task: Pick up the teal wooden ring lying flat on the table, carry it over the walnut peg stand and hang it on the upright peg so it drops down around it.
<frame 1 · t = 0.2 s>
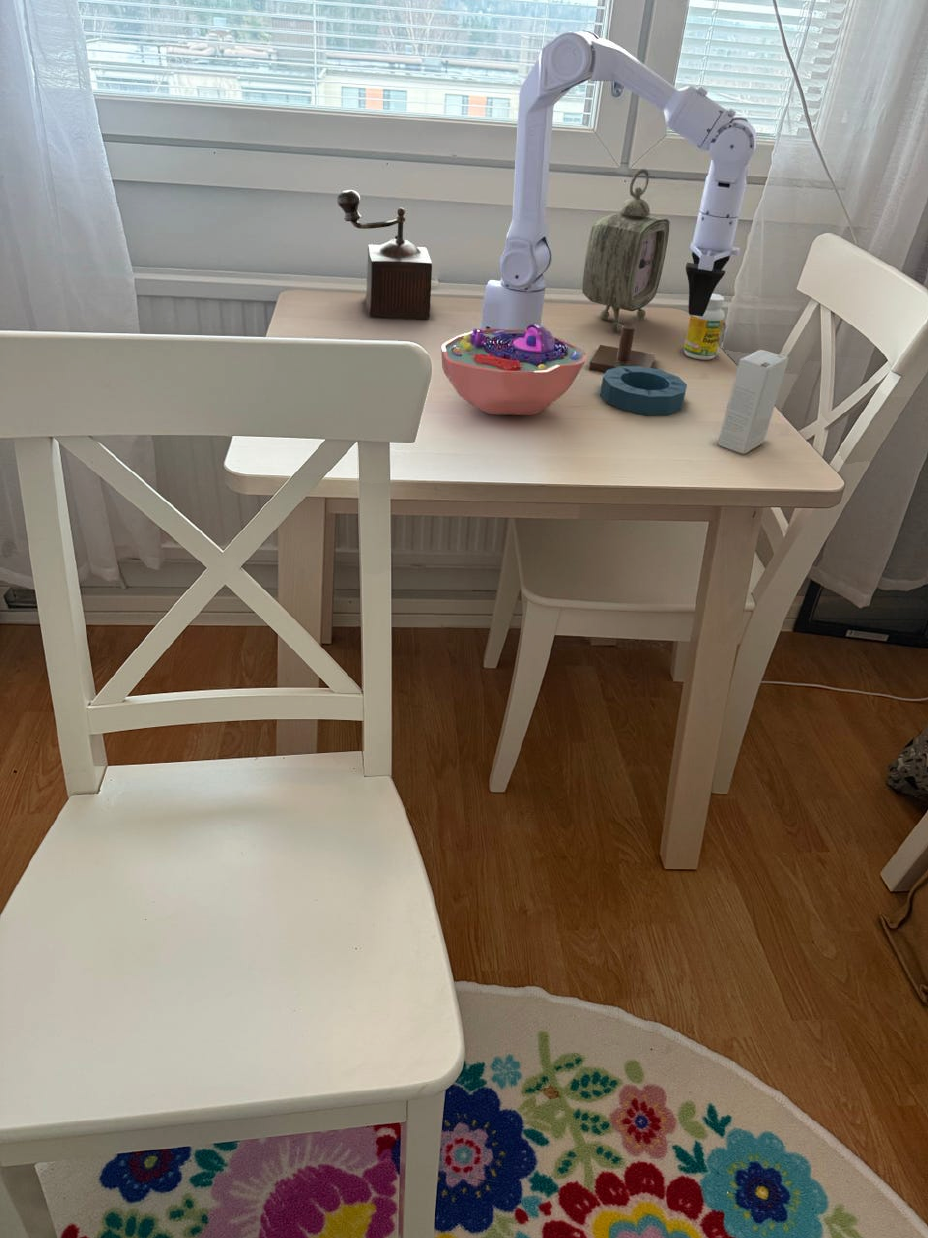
hand: (698, 308, 147), 10 cm above the table, tool pointing down, fingers open, 7 cm apart
ring: (641, 399, 141), on the table
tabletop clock: (613, 322, 172), on the table
cosmetic box: (740, 446, 131), on the table
manual coffee grinder: (382, 309, 167), on the table
cell model: (506, 409, 134), on the table
peg stand: (621, 365, 153), on the table
supplement bottle: (698, 355, 160), on the table
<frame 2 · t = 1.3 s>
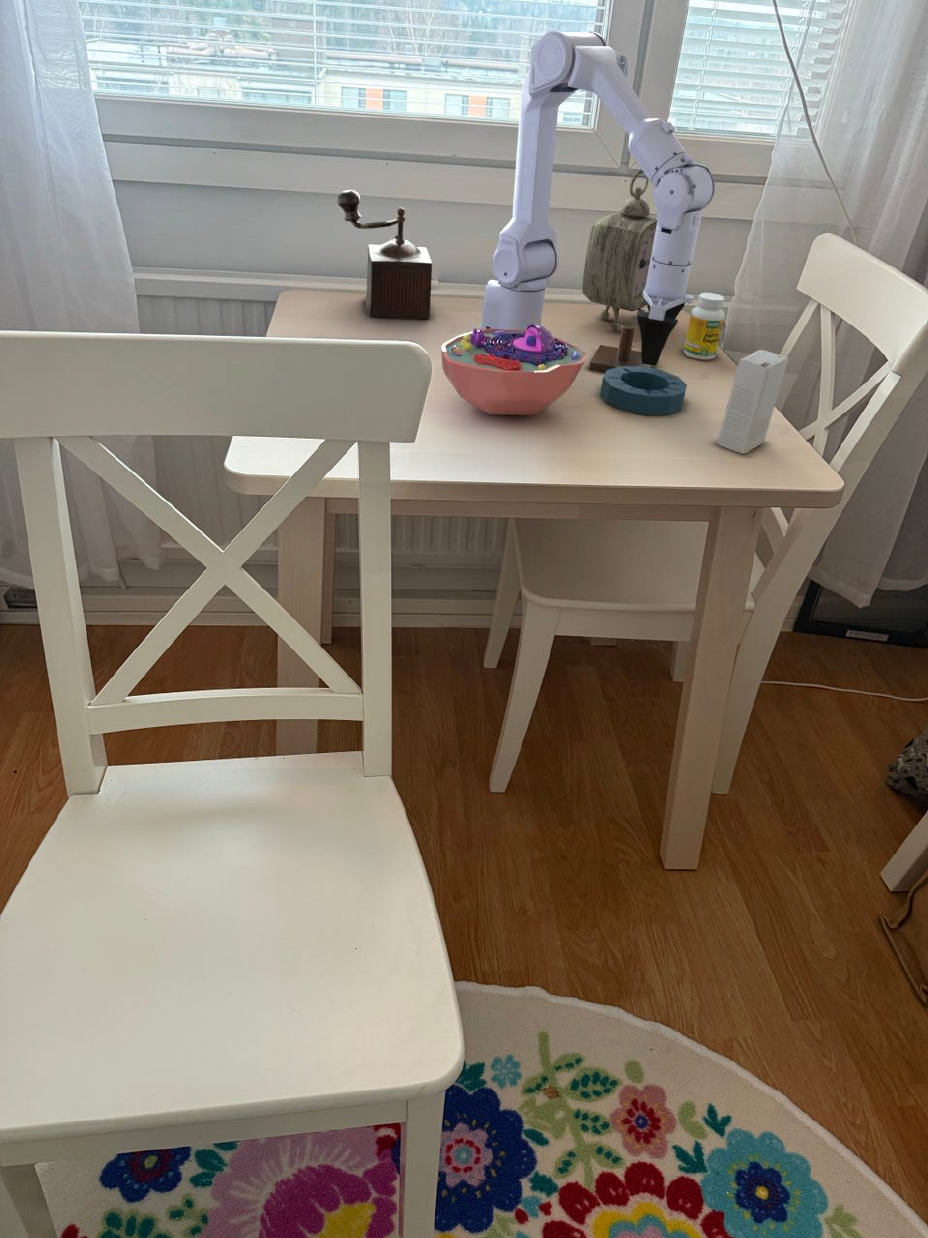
hand: (652, 355, 142), 5 cm above the table, tool pointing down, fingers open, 7 cm apart
nothing on the table moved.
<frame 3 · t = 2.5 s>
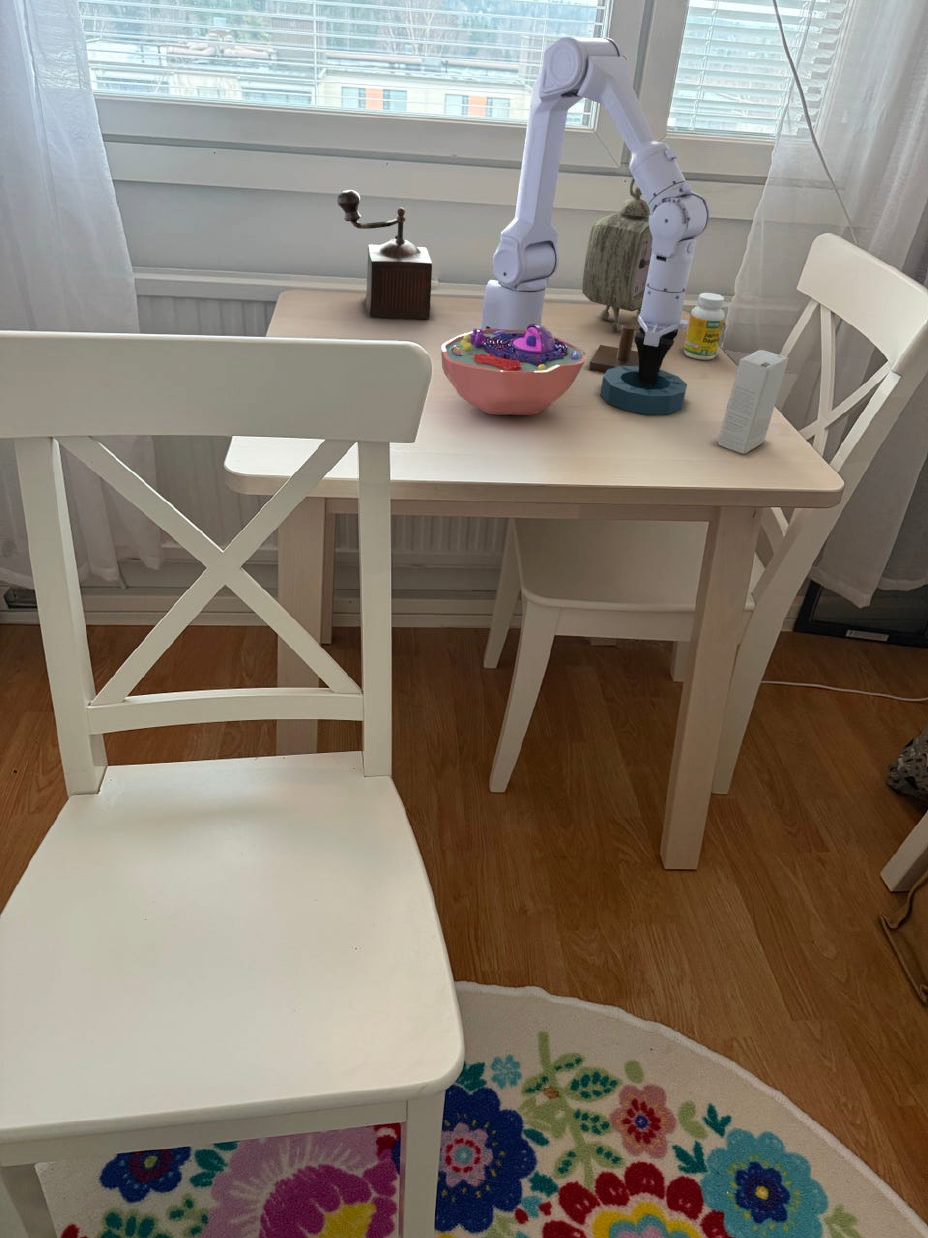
hand: (647, 379, 144), 1 cm above the table, tool pointing down, fingers closed on ring, 2 cm apart
ring: (641, 398, 142), on the table, touching gripper
everything else where it was.
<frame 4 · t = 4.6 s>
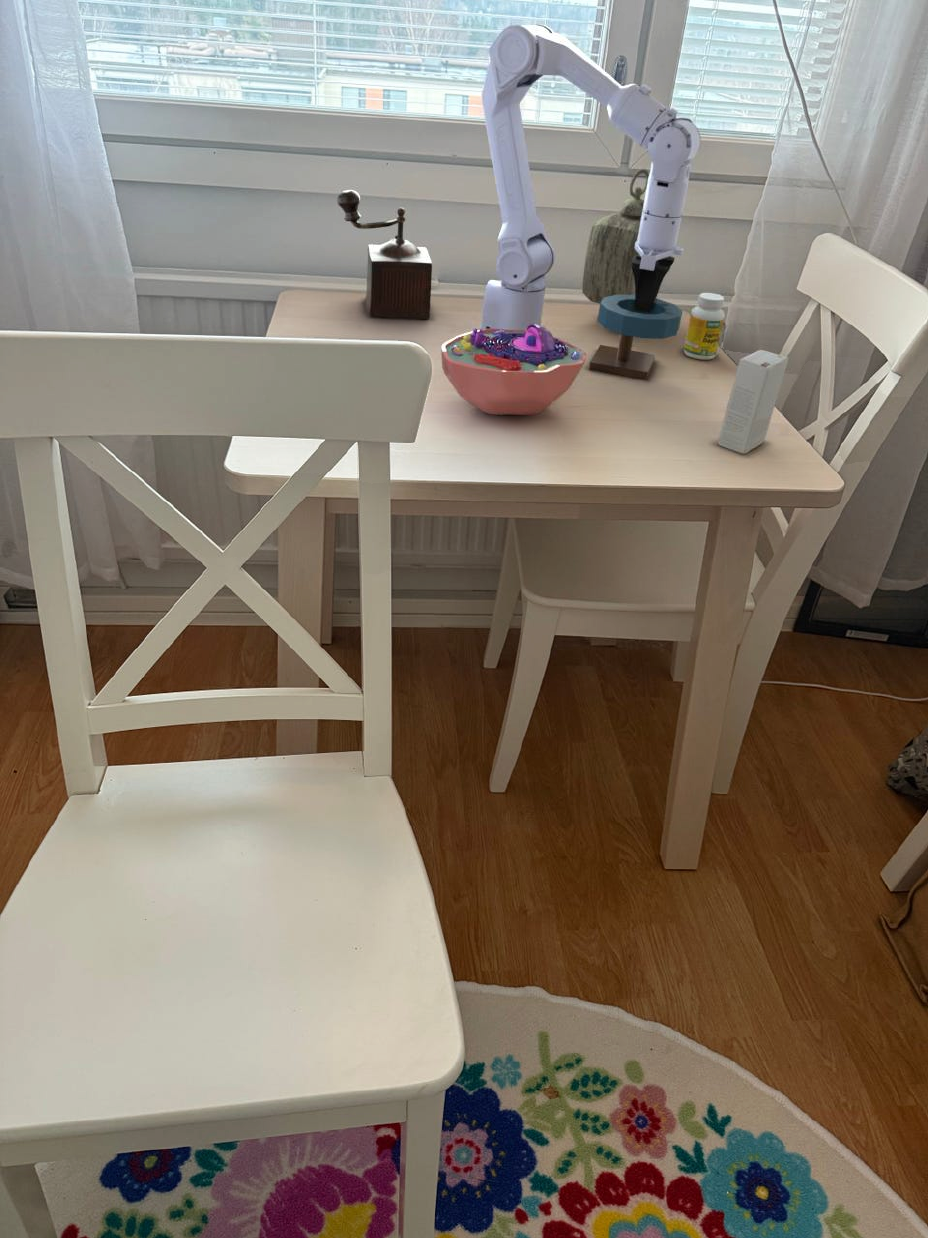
hand: (644, 307, 147), 9 cm above the table, tool pointing down, fingers closed on ring, 2 cm apart
ring: (638, 325, 144), point 8 cm above the table, touching gripper
everything else where it was.
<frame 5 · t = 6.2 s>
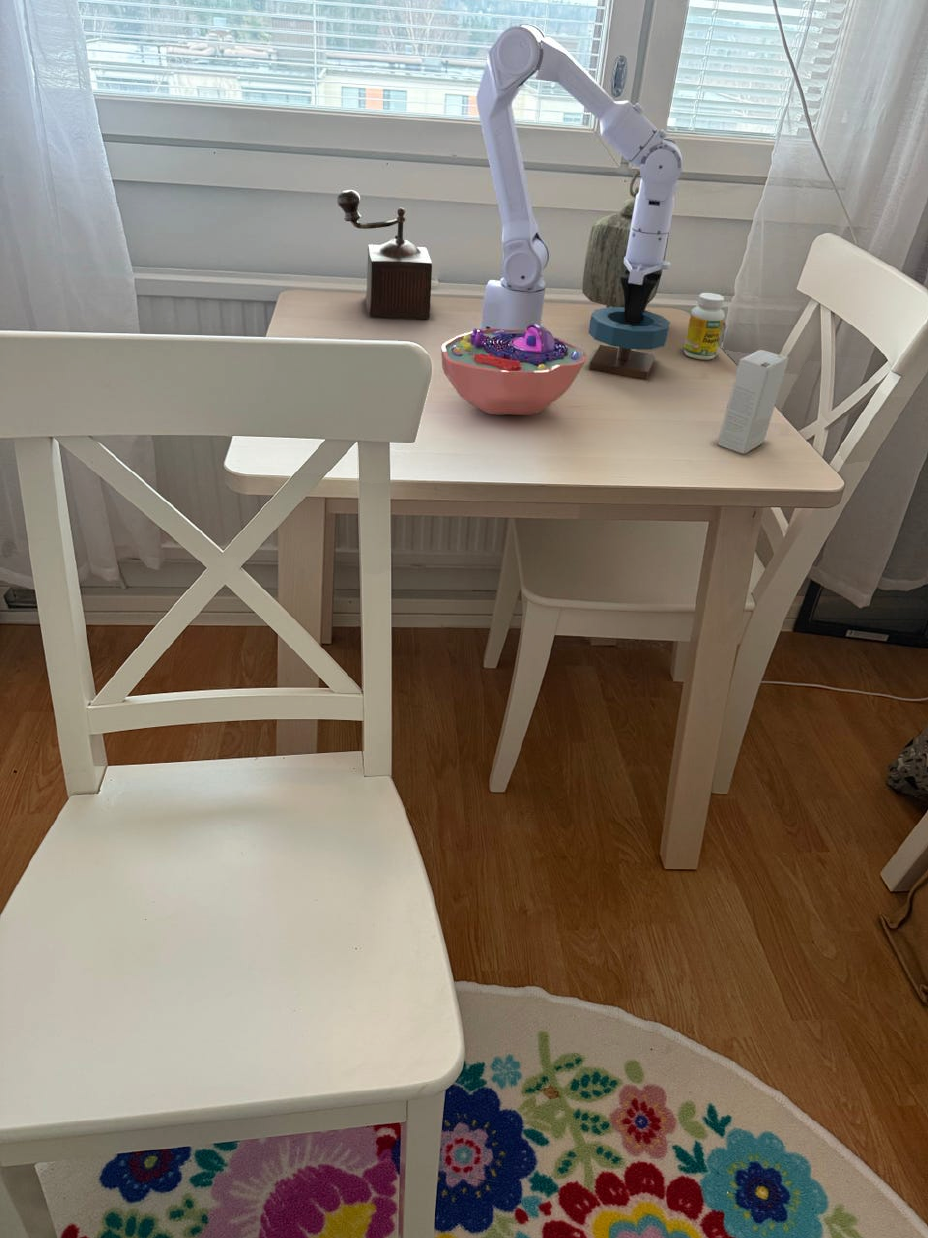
hand: (633, 319, 153), 6 cm above the table, tool pointing down, fingers closed on ring, 2 cm apart
ring: (627, 336, 150), point 5 cm above the table, touching gripper
everything else where it was.
when the fingers open (4 cm above the table, at t = 7.1 s): ring drops 1 cm, resting on peg stand.
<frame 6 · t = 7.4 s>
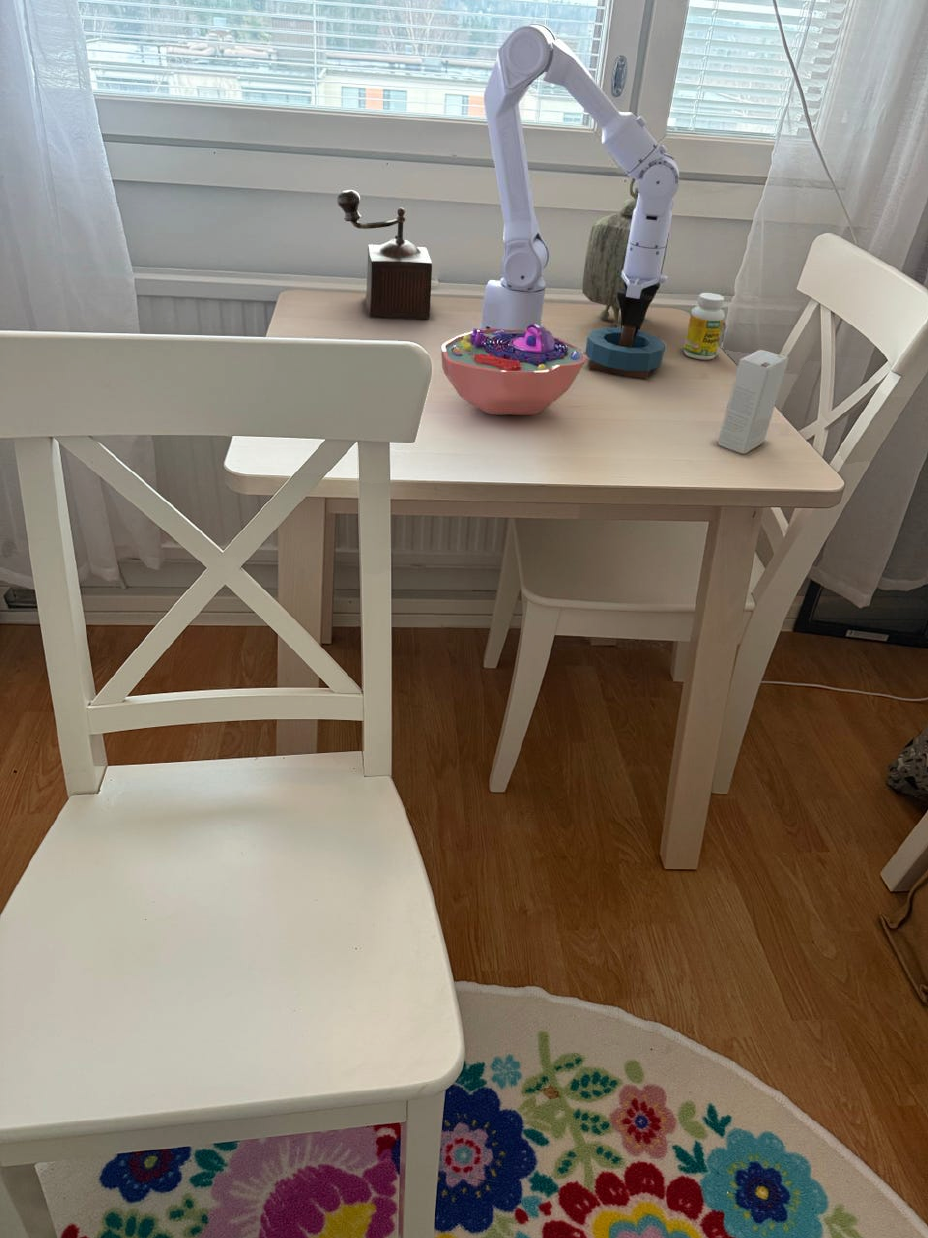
hand: (630, 332, 154), 4 cm above the table, tool pointing down, fingers open, 5 cm apart
ring: (623, 357, 152), point 1 cm above the table, touching peg stand
everything else where it was.
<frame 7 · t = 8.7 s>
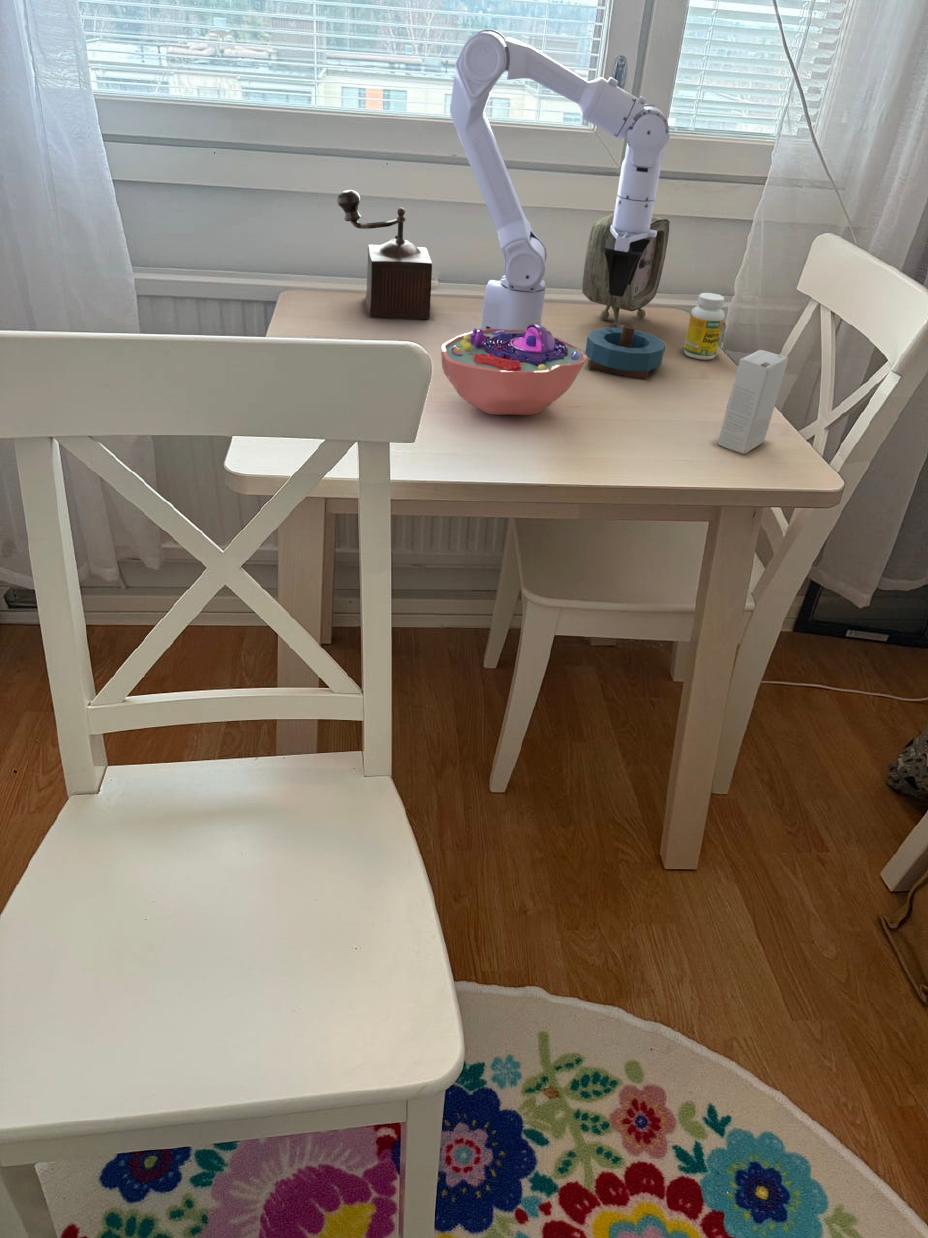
hand: (620, 289, 153), 10 cm above the table, tool pointing down, fingers open, 7 cm apart
nothing on the table moved.
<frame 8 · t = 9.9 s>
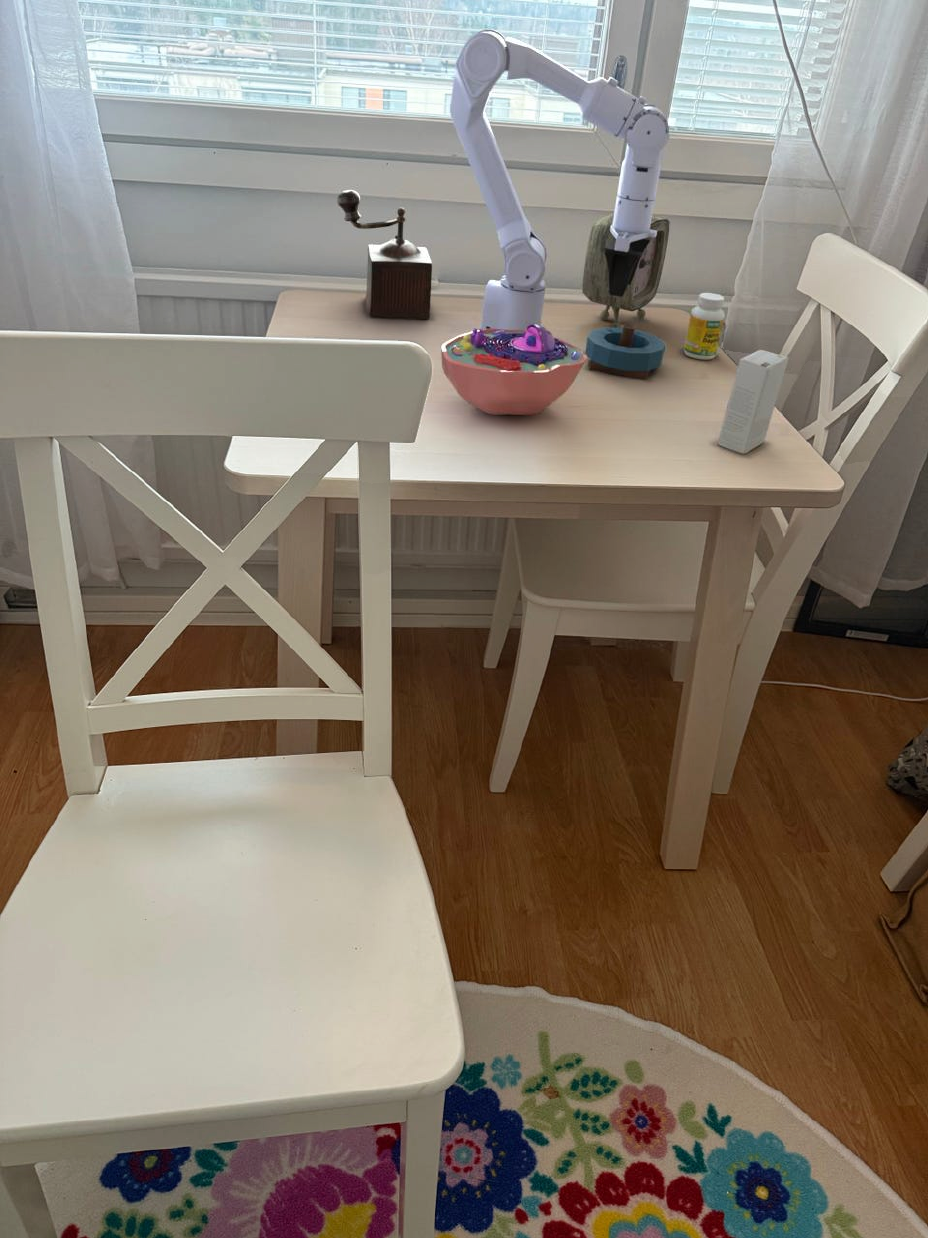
hand: (620, 289, 153), 10 cm above the table, tool pointing down, fingers open, 7 cm apart
nothing on the table moved.
at the end: ring 0.3 cm from the peg stand (horizontally); ring point 1.2 cm above the table; the gripper is holding nothing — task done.
